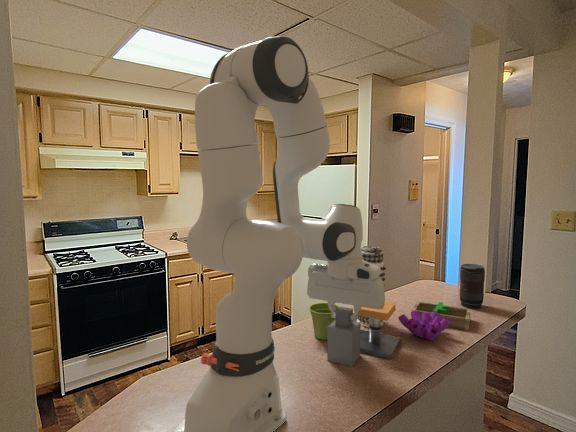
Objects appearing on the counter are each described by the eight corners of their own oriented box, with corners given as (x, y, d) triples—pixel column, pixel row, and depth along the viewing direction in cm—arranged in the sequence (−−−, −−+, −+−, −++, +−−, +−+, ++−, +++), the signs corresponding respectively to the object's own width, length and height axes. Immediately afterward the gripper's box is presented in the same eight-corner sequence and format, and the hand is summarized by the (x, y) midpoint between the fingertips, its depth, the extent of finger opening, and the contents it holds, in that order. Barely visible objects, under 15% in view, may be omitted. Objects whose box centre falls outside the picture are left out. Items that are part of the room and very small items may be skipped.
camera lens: (453, 304, 137) (455, 264, 135) (469, 301, 140) (470, 262, 139) (472, 311, 129) (474, 269, 128) (488, 307, 133) (490, 267, 131)
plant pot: (303, 338, 107) (303, 310, 107) (316, 327, 116) (316, 300, 115) (333, 345, 103) (333, 315, 102) (344, 332, 111) (344, 305, 111)
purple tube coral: (405, 351, 106) (389, 320, 110) (431, 337, 116) (415, 309, 120) (435, 339, 99) (417, 306, 102) (461, 324, 108) (443, 295, 112)
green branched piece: (444, 326, 116) (444, 313, 115) (432, 323, 118) (432, 310, 117) (449, 315, 125) (450, 303, 124) (438, 313, 127) (439, 301, 126)
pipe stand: (390, 359, 95) (391, 308, 93) (347, 349, 101) (347, 301, 99) (401, 341, 105) (402, 295, 104) (360, 333, 111) (361, 290, 110)
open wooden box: (468, 330, 113) (468, 319, 112) (411, 320, 121) (411, 310, 121) (470, 319, 121) (470, 309, 121) (416, 311, 130) (417, 301, 129)
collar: (387, 320, 96) (387, 313, 96) (354, 315, 100) (354, 307, 100) (395, 310, 104) (395, 303, 103) (364, 305, 108) (364, 298, 108)
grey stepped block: (351, 366, 91) (352, 315, 90) (327, 360, 94) (327, 311, 93) (360, 355, 97) (360, 307, 96) (336, 349, 100) (337, 303, 99)
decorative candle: (386, 319, 122) (387, 245, 120) (382, 329, 114) (384, 250, 111) (358, 315, 126) (359, 243, 123) (353, 325, 117) (354, 248, 115)
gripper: (302, 265, 96) (303, 316, 97) (380, 274, 86) (379, 331, 87) (313, 260, 101) (313, 309, 103) (387, 268, 91) (386, 322, 93)
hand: (344, 319), depth 95 cm, fingers closed on grey stepped block, 3 cm apart
